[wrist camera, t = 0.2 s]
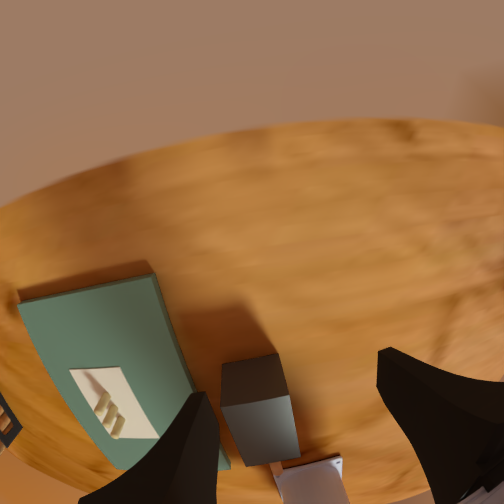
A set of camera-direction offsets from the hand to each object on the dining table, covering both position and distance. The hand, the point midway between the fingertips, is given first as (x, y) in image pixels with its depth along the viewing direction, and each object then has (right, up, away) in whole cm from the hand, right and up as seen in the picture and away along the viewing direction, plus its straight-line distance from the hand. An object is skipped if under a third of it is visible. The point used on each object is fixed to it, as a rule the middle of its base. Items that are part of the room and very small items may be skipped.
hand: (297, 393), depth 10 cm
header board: (-13, -8, +11) cm, 19 cm away
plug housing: (-1, -8, +12) cm, 14 cm away
